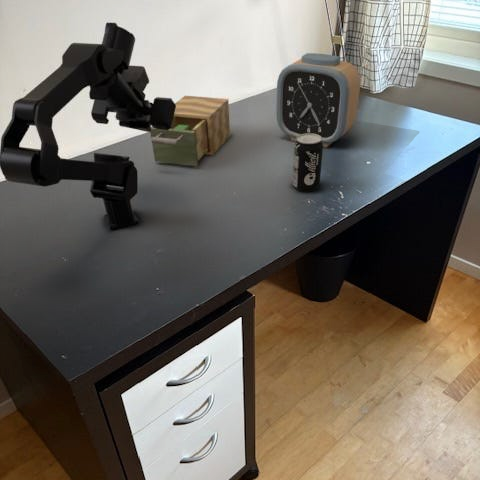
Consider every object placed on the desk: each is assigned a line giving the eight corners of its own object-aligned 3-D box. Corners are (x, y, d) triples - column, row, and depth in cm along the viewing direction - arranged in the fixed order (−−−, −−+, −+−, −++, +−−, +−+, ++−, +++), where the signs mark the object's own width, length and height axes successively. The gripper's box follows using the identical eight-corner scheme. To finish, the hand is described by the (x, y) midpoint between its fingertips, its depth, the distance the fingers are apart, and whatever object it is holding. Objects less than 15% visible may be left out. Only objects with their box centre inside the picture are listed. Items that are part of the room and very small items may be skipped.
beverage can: (324, 185, 117) (329, 137, 109) (308, 195, 113) (312, 146, 105) (303, 178, 120) (306, 130, 112) (287, 187, 117) (288, 138, 109)
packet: (191, 149, 131) (188, 125, 127) (185, 155, 129) (182, 130, 124) (181, 148, 132) (178, 124, 128) (175, 153, 129) (172, 129, 125)
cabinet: (212, 155, 133) (209, 116, 126) (168, 150, 136) (163, 112, 129) (230, 135, 143) (228, 98, 136) (188, 131, 147) (185, 95, 139)
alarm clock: (275, 138, 140) (276, 57, 126) (290, 127, 146) (292, 48, 132) (340, 151, 132) (349, 65, 117) (353, 139, 138) (363, 56, 123)
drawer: (189, 173, 122) (185, 139, 117) (146, 168, 126) (140, 135, 120) (215, 146, 135) (213, 114, 129) (175, 142, 138) (171, 110, 133)
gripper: (166, 56, 94) (193, 100, 109) (86, 52, 99) (122, 94, 114) (154, 109, 94) (182, 146, 109) (73, 102, 99) (111, 138, 114)
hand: (149, 129), depth 111 cm, fingers closed
